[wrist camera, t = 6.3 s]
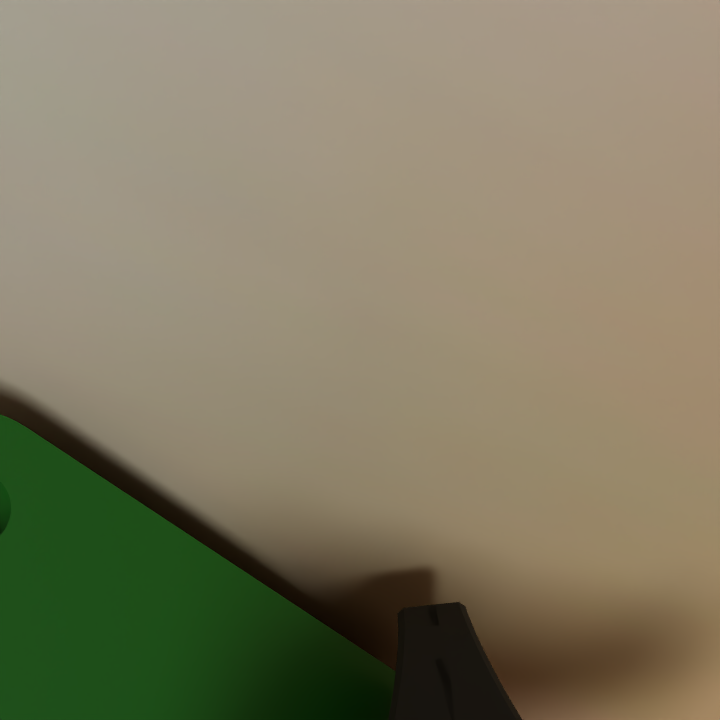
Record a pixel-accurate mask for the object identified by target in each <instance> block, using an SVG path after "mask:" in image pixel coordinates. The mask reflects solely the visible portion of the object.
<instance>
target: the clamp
mask: <svg viewBox="0 0 720 720" xmlns="http://www.w3.org/2000/svg"><path fill="white" fill-rule="evenodd" d="M395 672H396V671H394V670H393V669H391V668H390V667H388V666H387V665H385V664H384V663H382V662H381V661H379V660H378V659H376V658H375V657H373V656H372V655H370V654H369V653H367V652H366V651H364V650H363V649H361V648H359V647H358V646H356V645H355V644H353V643H352V642H350V641H349V640H347V639H346V638H344V637H343V636H341V635H340V634H338V633H337V632H335V631H334V630H332V629H331V628H329V627H328V626H326V625H325V624H323V623H322V622H320V621H319V620H317V619H316V618H314V617H313V616H311V615H310V614H308V613H307V612H305V611H303V610H302V609H300V608H299V607H297V606H296V605H294V604H293V603H291V602H290V601H288V600H287V599H285V598H284V597H282V596H281V595H279V594H278V593H276V592H275V591H273V590H272V589H270V588H269V587H267V586H266V585H264V584H263V583H261V582H260V581H258V580H257V579H255V578H254V577H252V576H251V575H249V574H247V573H246V572H244V571H243V570H241V569H240V568H238V567H237V566H235V565H234V564H232V563H231V562H229V561H228V560H226V559H225V558H223V557H222V556H220V555H219V554H217V553H216V552H214V551H213V550H211V549H210V548H208V547H207V546H205V545H204V544H202V543H201V542H199V541H198V540H196V539H195V538H193V537H192V536H190V535H188V534H187V533H185V532H184V531H182V530H181V529H179V528H178V527H176V526H175V525H173V524H172V523H170V522H169V521H167V520H166V519H164V518H163V517H161V516H160V515H158V514H157V513H155V512H154V511H152V510H151V509H149V508H148V507H146V506H145V505H143V504H142V503H140V502H139V501H137V500H136V499H134V498H132V497H131V496H129V495H128V494H126V493H125V492H123V491H122V490H120V489H119V488H117V487H116V486H114V485H113V484H111V483H110V482H108V481H107V480H105V479H104V478H102V477H101V476H99V475H98V474H96V473H95V472H93V471H92V470H90V469H89V468H87V467H86V466H84V465H83V464H81V463H80V462H78V461H76V460H75V459H73V458H72V457H70V456H69V455H67V454H66V453H64V452H63V451H61V450H60V449H58V448H57V447H55V446H54V445H52V444H51V443H49V442H48V441H46V440H45V439H43V438H42V437H40V436H39V435H37V434H36V433H34V432H33V431H31V430H30V429H28V428H27V427H25V426H23V425H22V424H20V423H18V422H16V421H14V420H12V419H10V418H8V417H6V416H3V415H1V414H0V720H388V718H389V712H390V706H391V700H392V695H393V688H394V681H395Z"/></svg>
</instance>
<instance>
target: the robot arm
mask: <svg viewBox="0 0 720 720" xmlns="http://www.w3.org/2000/svg"><path fill="white" fill-rule="evenodd" d="M397 614H398V652H397V664H396V672H395V681H394V688H393V695H392V700H391V706H390V712H389V718H388V720H522V719H521V717H520V715H519V714H518V712H517V710H516V709H515V707H514V705H513V704H512V702H511V700H510V699H509V697H508V695H507V693H506V692H505V690H504V688H503V686H502V684H501V683H500V681H499V679H498V677H497V675H496V673H495V671H494V669H493V668H492V666H491V664H490V662H489V660H488V658H487V656H486V654H485V652H484V650H483V648H482V646H481V644H480V641H479V639H478V637H477V635H476V633H475V630H474V628H473V626H472V623H471V621H470V618H469V616H468V613H467V610H466V607H465V606H464V605H462V604H461V603H459V602H456V603H446V604H437V605H427V606H417V607H408V608H403V609H402V610H401V611H400V612H398V613H397Z"/></svg>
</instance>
